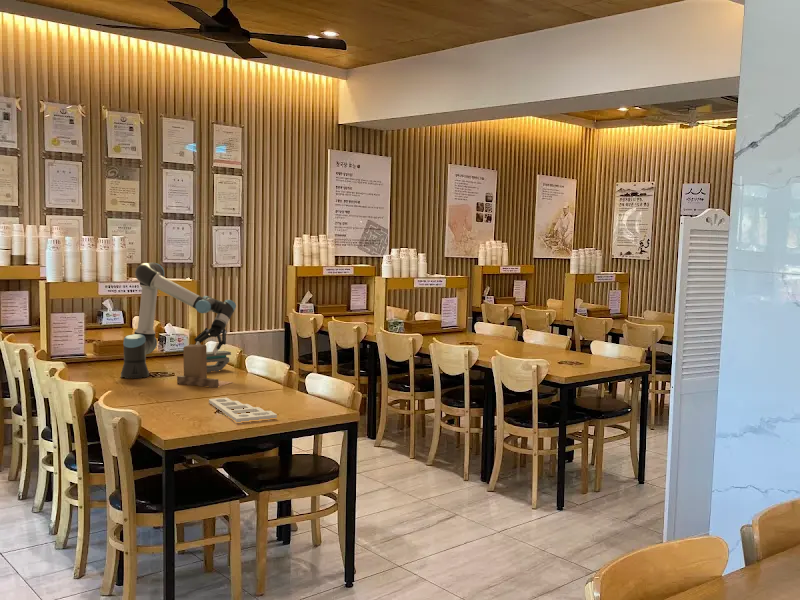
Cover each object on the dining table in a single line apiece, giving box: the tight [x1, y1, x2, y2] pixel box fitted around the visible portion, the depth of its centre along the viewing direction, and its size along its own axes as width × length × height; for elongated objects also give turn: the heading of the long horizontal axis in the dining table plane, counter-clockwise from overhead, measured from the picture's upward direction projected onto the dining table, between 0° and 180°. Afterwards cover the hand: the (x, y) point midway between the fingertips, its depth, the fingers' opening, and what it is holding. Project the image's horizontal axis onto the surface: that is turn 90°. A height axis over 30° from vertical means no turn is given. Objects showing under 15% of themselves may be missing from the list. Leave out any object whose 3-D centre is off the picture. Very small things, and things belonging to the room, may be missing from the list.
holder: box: [208, 397, 278, 422], centre depth 336 cm, size 45×18×3 cm, turn 29°
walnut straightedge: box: [176, 375, 220, 388], centre depth 396 cm, size 25×3×4 cm, turn 67°
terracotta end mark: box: [219, 380, 234, 387], centre depth 401 cm, size 13×12×1 cm
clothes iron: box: [207, 350, 232, 373], centre depth 440 cm, size 25×8×11 cm, turn 128°
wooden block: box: [183, 344, 208, 378], centre depth 406 cm, size 10×10×20 cm
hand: (203, 352), depth 410 cm, fingers open, 13 cm apart
